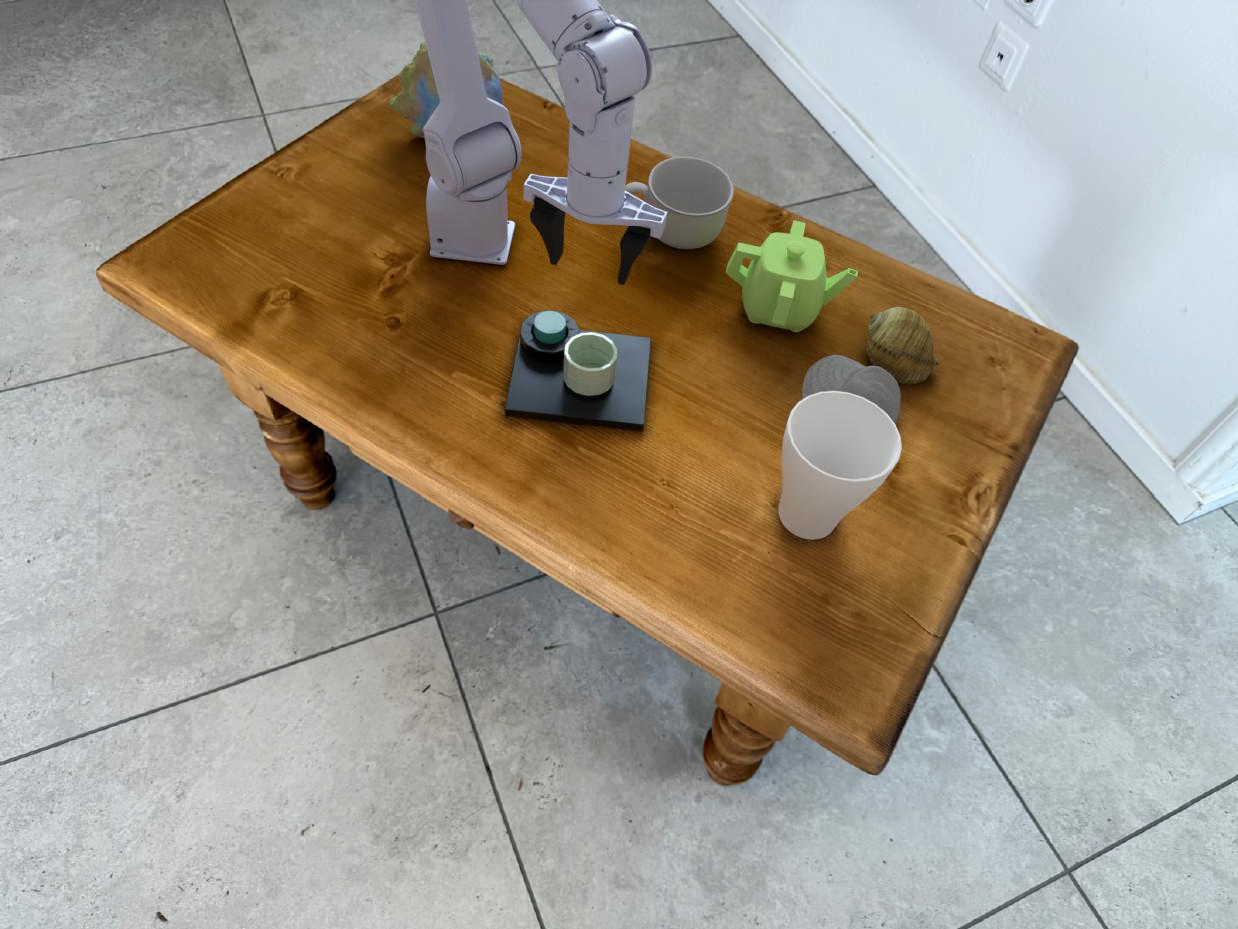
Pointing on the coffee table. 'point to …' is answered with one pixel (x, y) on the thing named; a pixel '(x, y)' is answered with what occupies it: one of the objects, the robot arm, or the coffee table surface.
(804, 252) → the teapot
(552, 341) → the button
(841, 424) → the cup
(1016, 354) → the coffee table surface
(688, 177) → the teacup
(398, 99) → the decorative rock
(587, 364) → the pale green handleless cup
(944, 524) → the coffee table surface
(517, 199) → the coffee table surface
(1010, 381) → the coffee table surface
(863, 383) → the seashell
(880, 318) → the seashell
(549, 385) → the scale
